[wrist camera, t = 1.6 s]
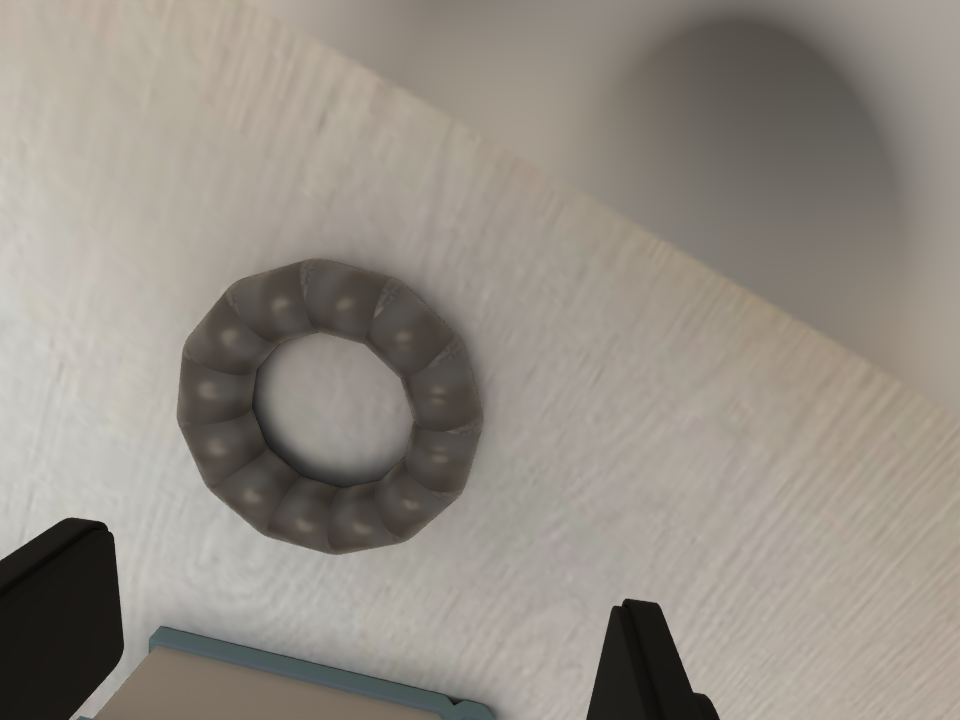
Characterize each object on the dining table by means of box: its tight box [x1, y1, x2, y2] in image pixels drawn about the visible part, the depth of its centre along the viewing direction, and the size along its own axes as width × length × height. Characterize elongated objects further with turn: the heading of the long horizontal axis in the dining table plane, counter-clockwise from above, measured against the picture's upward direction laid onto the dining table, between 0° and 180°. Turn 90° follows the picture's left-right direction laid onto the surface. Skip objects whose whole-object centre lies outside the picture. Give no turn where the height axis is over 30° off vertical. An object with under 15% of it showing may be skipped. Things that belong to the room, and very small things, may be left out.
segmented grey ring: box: [177, 259, 483, 555], centre depth 18 cm, size 11×11×2 cm
